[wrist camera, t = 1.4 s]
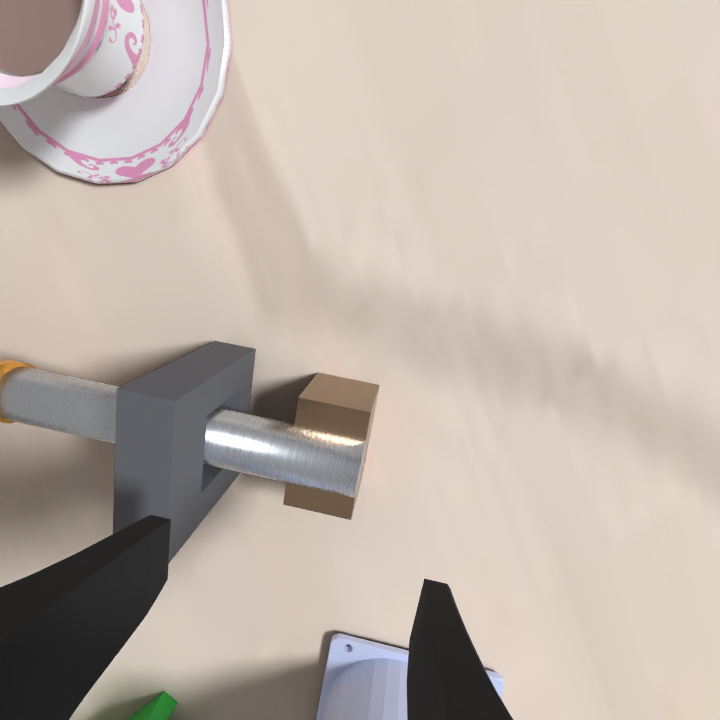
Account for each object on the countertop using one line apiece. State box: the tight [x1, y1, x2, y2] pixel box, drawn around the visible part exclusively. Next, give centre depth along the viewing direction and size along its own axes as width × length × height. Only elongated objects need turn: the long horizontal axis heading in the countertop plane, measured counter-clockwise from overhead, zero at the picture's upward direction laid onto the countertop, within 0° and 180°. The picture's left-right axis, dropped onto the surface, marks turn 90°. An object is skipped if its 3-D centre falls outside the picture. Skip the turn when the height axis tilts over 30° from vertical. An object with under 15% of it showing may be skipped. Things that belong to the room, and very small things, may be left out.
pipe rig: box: [0, 359, 379, 520], centre depth 21 cm, size 24×5×5 cm, turn 81°
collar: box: [113, 341, 256, 563], centre depth 19 cm, size 2×6×7 cm, turn 170°
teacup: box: [0, 0, 232, 184], centre depth 17 cm, size 12×12×6 cm
